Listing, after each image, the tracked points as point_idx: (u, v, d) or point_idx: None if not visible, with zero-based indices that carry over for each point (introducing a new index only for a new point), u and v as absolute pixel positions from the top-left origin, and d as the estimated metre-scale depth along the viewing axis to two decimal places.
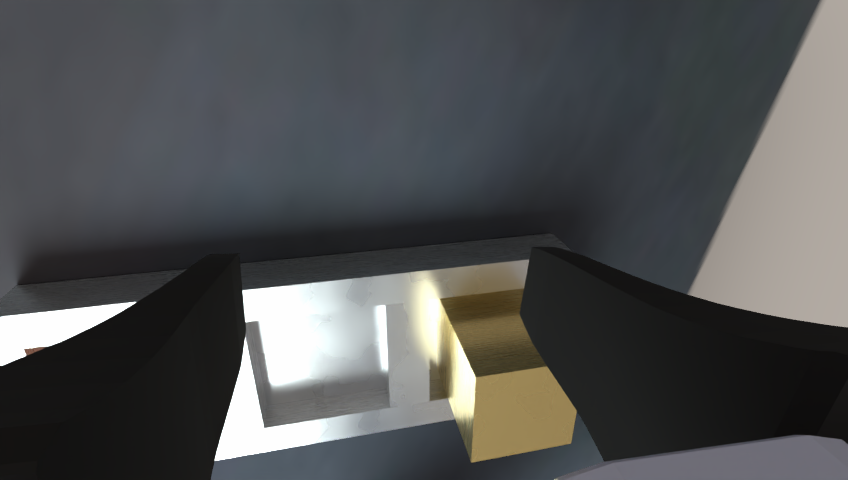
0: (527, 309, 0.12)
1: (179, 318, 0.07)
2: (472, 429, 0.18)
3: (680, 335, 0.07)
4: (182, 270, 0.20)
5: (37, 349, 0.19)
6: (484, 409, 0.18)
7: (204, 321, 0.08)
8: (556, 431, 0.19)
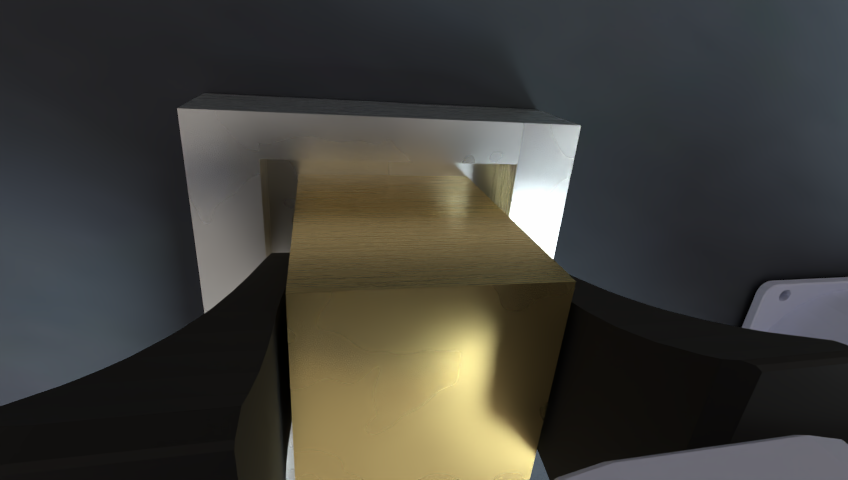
0: None
1: (271, 313, 0.07)
2: None
3: (607, 341, 0.07)
4: None
5: None
6: None
7: (284, 317, 0.08)
8: (517, 325, 0.08)
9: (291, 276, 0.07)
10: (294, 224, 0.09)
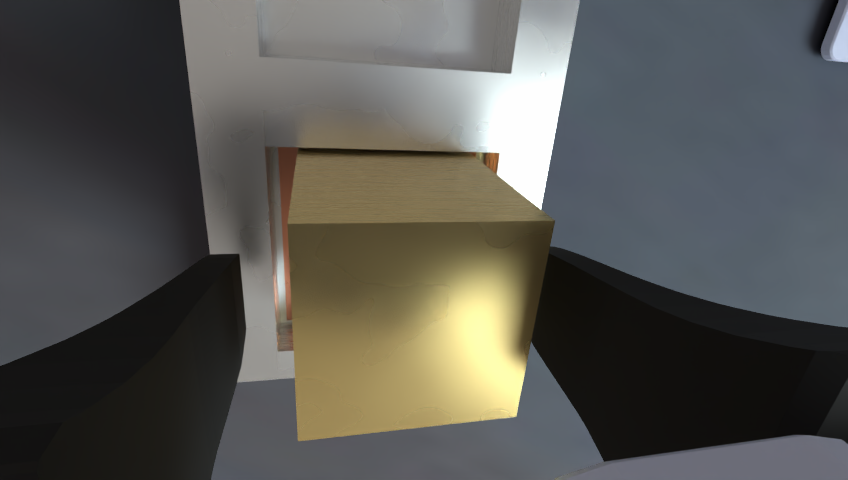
0: None
1: (179, 318, 0.07)
2: (434, 422, 0.10)
3: (680, 336, 0.07)
4: None
5: None
6: (385, 415, 0.09)
7: (204, 321, 0.08)
8: (501, 262, 0.08)
9: (292, 212, 0.08)
10: (295, 176, 0.09)
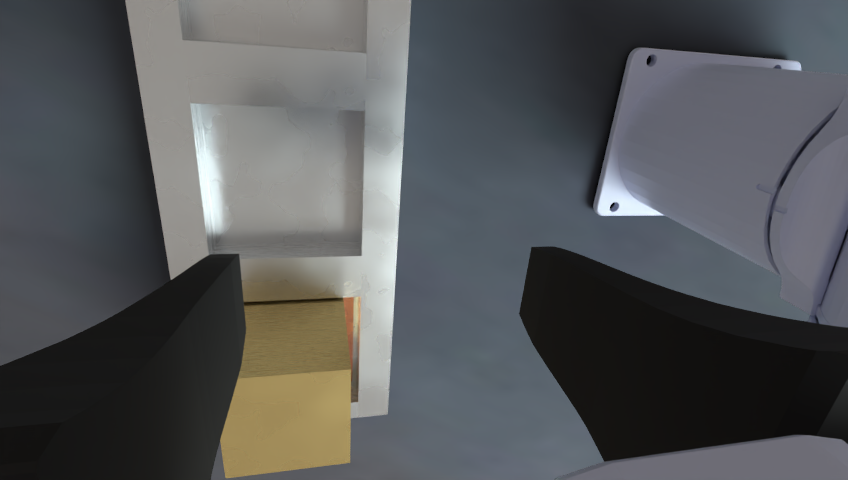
0: (527, 309, 0.12)
1: (179, 318, 0.07)
2: (302, 466, 0.18)
3: (680, 336, 0.07)
4: None
5: None
6: (272, 464, 0.17)
7: (204, 321, 0.08)
8: (325, 389, 0.16)
9: None
10: None
